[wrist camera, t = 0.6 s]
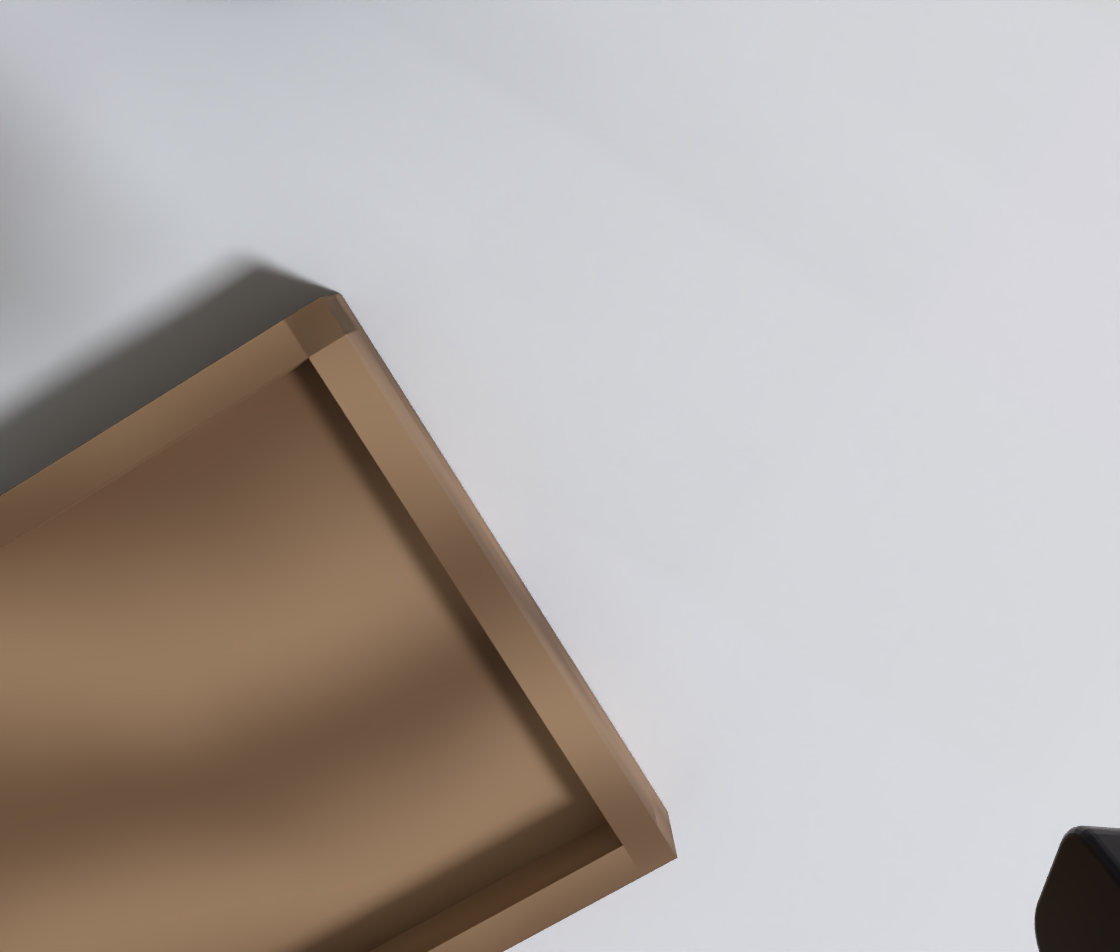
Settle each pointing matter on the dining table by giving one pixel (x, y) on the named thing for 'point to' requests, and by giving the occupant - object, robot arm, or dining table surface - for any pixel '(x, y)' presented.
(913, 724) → the dining table surface
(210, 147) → the dining table surface
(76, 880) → the tray
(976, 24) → the dining table surface
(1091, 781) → the dining table surface
